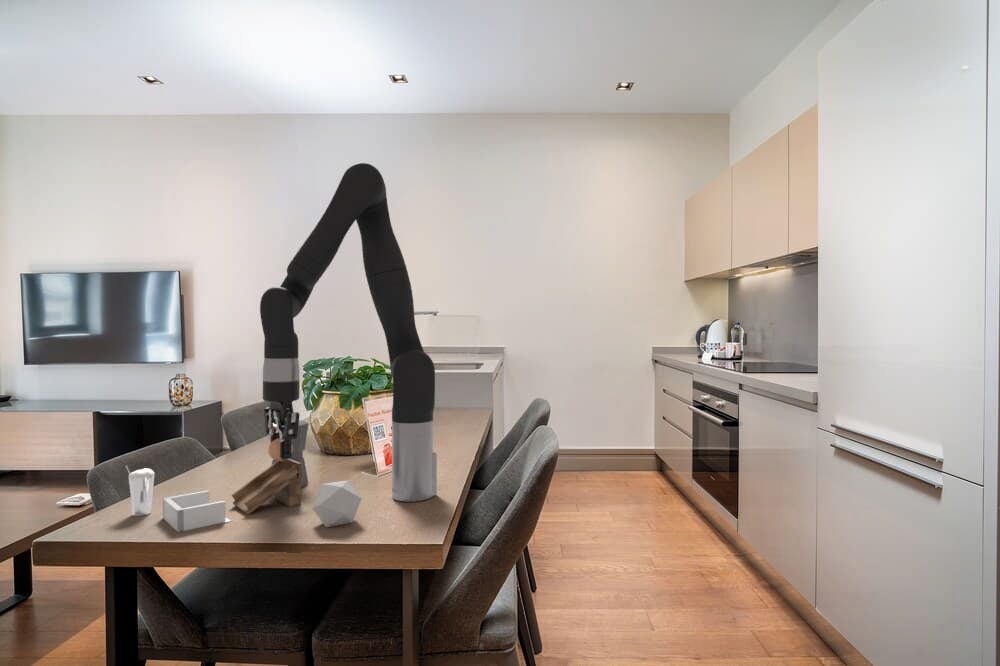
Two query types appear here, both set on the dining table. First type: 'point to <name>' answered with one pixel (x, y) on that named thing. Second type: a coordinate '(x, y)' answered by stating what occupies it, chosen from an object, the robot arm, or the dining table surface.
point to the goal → (193, 511)
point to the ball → (275, 450)
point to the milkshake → (141, 491)
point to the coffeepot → (299, 449)
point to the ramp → (271, 486)
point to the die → (336, 503)
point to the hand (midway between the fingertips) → (280, 456)
